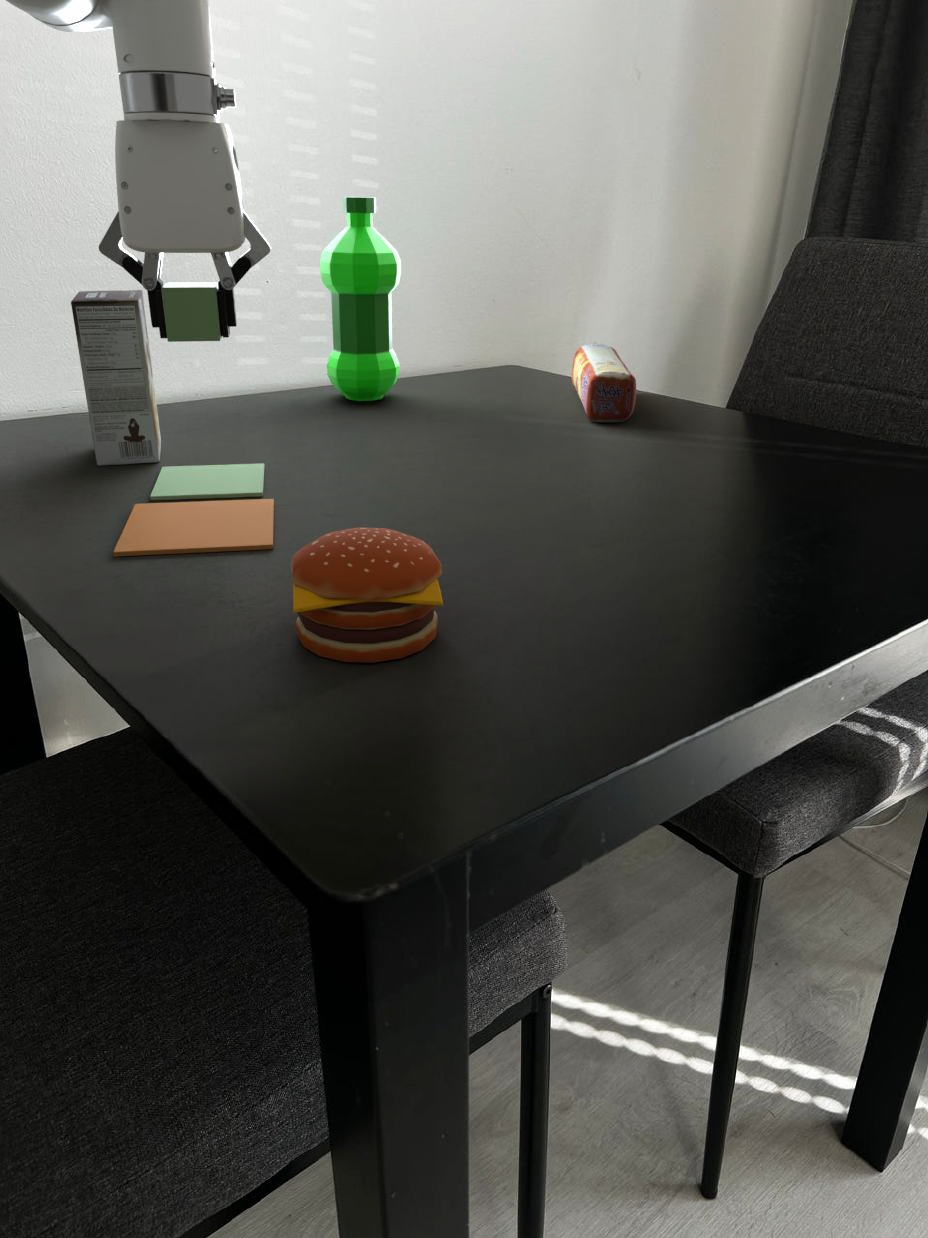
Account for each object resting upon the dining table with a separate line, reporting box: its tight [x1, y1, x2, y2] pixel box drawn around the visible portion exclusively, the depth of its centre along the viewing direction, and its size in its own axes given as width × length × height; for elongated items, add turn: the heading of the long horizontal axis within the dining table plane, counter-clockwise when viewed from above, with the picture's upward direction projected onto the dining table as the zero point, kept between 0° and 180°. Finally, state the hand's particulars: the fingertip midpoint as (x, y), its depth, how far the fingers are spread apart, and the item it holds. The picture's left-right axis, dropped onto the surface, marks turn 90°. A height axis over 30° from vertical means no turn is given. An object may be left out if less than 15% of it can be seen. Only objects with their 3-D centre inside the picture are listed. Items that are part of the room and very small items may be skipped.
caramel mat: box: [112, 498, 275, 557], centre depth 76 cm, size 12×12×1 cm
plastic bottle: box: [319, 196, 402, 402], centre depth 120 cm, size 10×10×25 cm
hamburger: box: [290, 526, 444, 664], centre depth 57 cm, size 9×10×7 cm
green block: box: [161, 281, 223, 343], centre depth 81 cm, size 4×4×4 cm
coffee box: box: [70, 289, 162, 467], centre depth 93 cm, size 9×6×16 cm
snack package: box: [571, 343, 637, 423], centre depth 121 cm, size 21×7×7 cm, turn 178°
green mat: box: [149, 463, 265, 501], centre depth 88 cm, size 10×10×1 cm
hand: (195, 333), depth 82 cm, fingers closed on green block, 4 cm apart
